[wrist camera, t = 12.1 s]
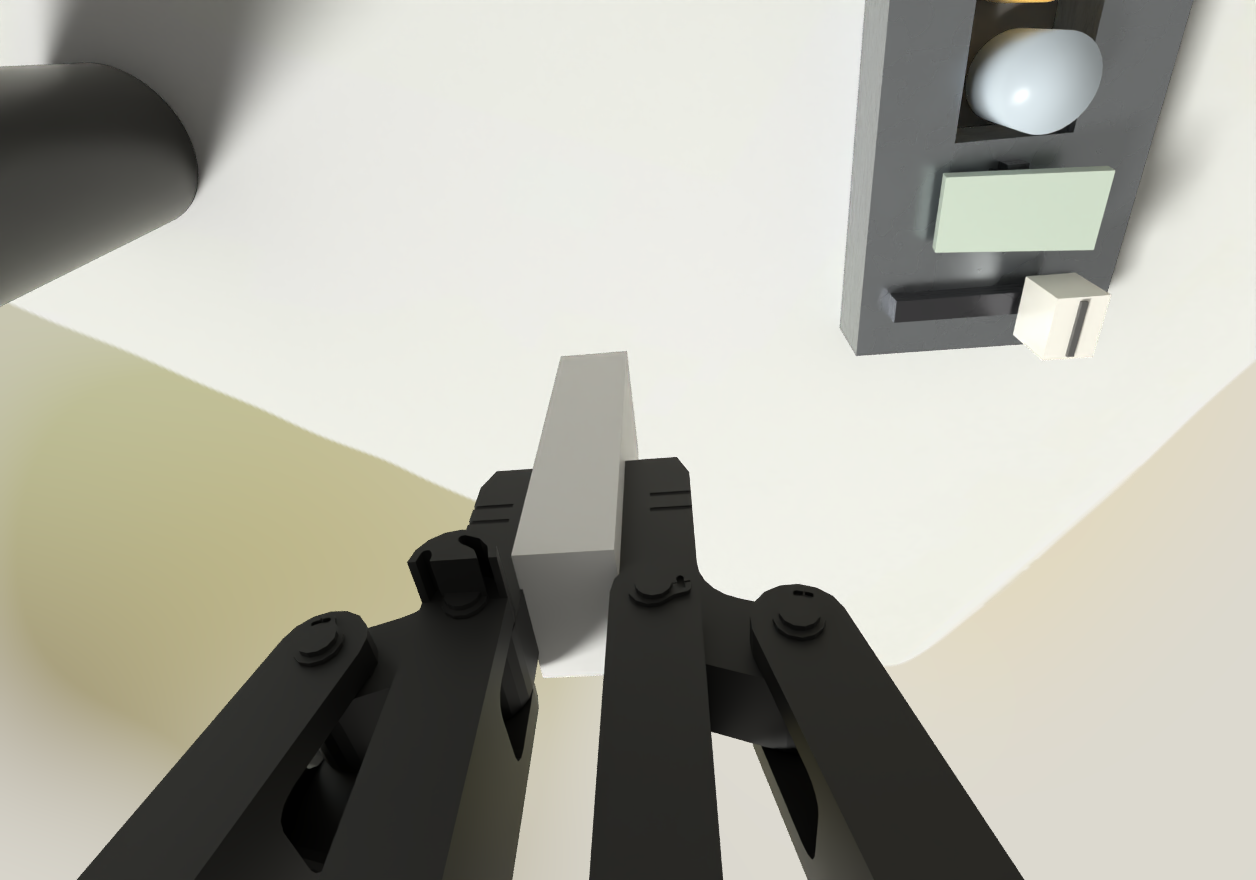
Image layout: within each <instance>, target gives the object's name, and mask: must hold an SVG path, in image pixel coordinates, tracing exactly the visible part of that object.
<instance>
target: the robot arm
mask: <svg viewBox="0 0 1256 880" xmlns="http://www.w3.org/2000/svg"><path fill="white" fill-rule="evenodd" d="M469 522H470V524H469V525H468V526H467V529H466V530H458V531H453V532H447V533H444V534H442V535H440V536H437V537H435V538H433V539H430V540H428V541H427V542H426V543H425V544H423V545H422V546H421V547H419V548H418V549H417V550H415V552H414V553H413V555H412V556H411V558H410V559H409V560H408V562H407V563H408V566H409V569H410V571H411V574H412V577H413V579H414V582H415V585H416V587H417V590H418V593H419V595H420V598H421V601H422V605H421V608H420V610H418V611H417V612H415V613H413V614H410V615H408V616H405V617H402V618H400V619H396V620H393V621H390V622H387V623H383V624H380V625H377V626H373V627H370V628H368V627H367V625H366V624H365V623H364V621H363V620H362V618H361V617H360V616H359V615H356V614H353V613H351V612H348V611H338V612H337V611H336V612H328V613H325V614H322V615H318V616H315V617H313V618H311V619H309V620H307V621H306V622H304V623H303V624H301V625H298V626H297V627H296V628H294V629H293V630H292V631H291V632H290V633H289V634H288V635H287V636H286V637H285V638H283V639H282V641H281V642H280V643H279V644H278V645H277V647H276V648H275V649H274V650H273V651H272V652H271V653H270V655H269V656H268V657H267V658H266V659H265V661H264V662H263V663H262V664H261V665H260V667H258V669H257V670H256V671H255V672H254V673H253V675H252V676H251V677H250V678H249V679H248V680H247V682H246V683H245V684H244V685H243V686H242V687H241V688H240V690H239V691H238V692H237V693H236V694H235V695H234V697H233V698H232V699H231V700H230V701H229V702H228V704H227V705H226V706H225V707H224V709H222V711H221V712H220V713H219V714H218V715H217V717H216V718H215V719H214V720H213V721H212V722H211V724H210V725H209V726H208V727H207V728H206V729H205V731H204V732H203V733H202V734H201V735H200V736H199V738H198V739H197V740H196V741H195V742H194V743H193V745H192V746H191V747H190V748H189V749H188V750H187V752H186V753H185V754H184V755H183V756H182V757H181V759H180V760H179V761H178V762H177V763H176V764H175V766H174V767H173V768H172V769H171V770H170V772H169V773H168V774H167V775H166V776H165V777H164V778H163V780H162V781H161V782H160V783H159V784H158V785H157V787H156V788H155V789H154V790H153V791H152V792H151V794H150V795H149V796H148V797H147V798H146V799H145V801H144V802H143V803H142V804H141V805H140V807H139V808H138V809H137V810H136V811H135V812H134V814H133V815H132V816H131V817H130V818H129V819H128V821H127V822H126V823H125V824H124V825H123V827H121V829H120V830H119V831H118V832H117V833H116V835H115V836H114V837H113V838H112V839H111V840H110V842H109V843H108V844H107V845H106V846H105V847H104V849H103V850H102V851H101V852H100V853H99V855H98V856H97V857H96V858H95V859H94V860H93V861H92V863H91V864H90V865H89V866H88V867H87V868H86V870H85V871H84V872H83V873H82V874H81V875H80V877H79V878H78V879H77V880H512V877H513V871H514V864H515V858H516V852H517V845H518V839H519V832H520V825H521V819H522V812H523V806H524V799H525V793H526V787H527V780H528V774H529V767H530V761H531V754H532V748H533V741H534V735H535V728H536V722H537V715H538V709H539V708H538V695H537V691H536V688H535V684H534V679H535V674H536V667H537V662H538V660H539V664H540V668H541V671H542V675H543V678H554V677H575V676H595V675H596V676H598V675H604V679H603V680H604V681H603V694H602V708H601V722H600V736H599V750H598V764H597V777H596V791H595V805H594V820H593V833H592V847H591V861H590V877H589V880H723V873H722V862H721V850H720V836H719V824H718V813H717V800H716V787H715V775H714V763H713V750H712V738H711V732H714V733H718V734H722V735H725V736H729V737H732V738H736V739H739V740H743V741H746V742H750V743H753V746H754V749H755V751H756V754H757V756H758V759H759V761H760V763H761V766H762V769H763V771H764V774H765V776H766V778H767V781H768V783H769V786H770V788H771V791H772V793H773V796H774V798H775V801H776V803H777V805H778V808H779V810H780V813H781V815H782V818H783V820H784V823H785V825H786V828H787V830H788V832H789V835H790V837H791V840H792V842H793V845H794V847H795V850H796V852H797V854H798V857H799V859H800V862H801V864H802V866H803V869H804V872H805V874H806V876H807V879H808V880H1024V879H1023V877H1022V876H1021V874H1020V873H1019V871H1018V869H1017V868H1016V866H1015V865H1014V863H1013V862H1012V860H1011V859H1010V857H1009V856H1008V854H1007V853H1006V852H1005V850H1004V848H1003V847H1002V845H1001V844H1000V842H999V841H998V839H997V838H996V836H995V835H994V833H993V832H992V830H991V829H990V827H989V826H988V824H987V823H986V821H985V820H984V818H983V817H982V815H981V814H980V812H979V811H978V809H977V807H976V806H975V804H974V803H973V801H972V800H971V798H970V797H969V795H968V794H967V792H966V791H965V789H964V788H963V786H962V785H961V783H960V782H959V780H958V779H957V777H956V776H955V774H954V773H953V771H952V770H951V768H950V767H949V765H948V764H947V762H946V761H945V759H944V758H943V756H942V755H941V753H940V752H939V750H938V749H937V747H936V746H935V744H934V742H933V741H932V739H931V738H930V737H929V735H928V733H927V732H926V730H925V729H924V727H923V726H922V725H921V723H920V721H919V720H918V718H917V717H916V715H915V714H914V712H913V711H912V709H911V708H910V706H909V705H908V703H907V702H906V700H905V699H904V697H903V696H902V694H901V693H900V691H899V690H898V688H897V687H896V685H895V684H894V682H893V681H892V679H891V677H890V676H889V674H888V673H887V671H886V670H885V668H884V667H883V665H882V664H881V662H880V661H879V659H878V658H877V656H876V655H875V653H874V652H873V650H872V649H871V647H870V646H869V644H868V643H867V641H866V640H865V638H864V637H863V635H862V634H861V632H860V631H859V629H858V628H857V626H856V625H855V623H854V622H853V620H852V619H851V617H850V616H849V614H848V612H847V611H846V609H845V608H844V607H843V606H842V605H841V604H840V603H839V602H838V601H837V600H836V599H835V598H834V597H833V596H832V595H830V594H828V593H826V592H824V591H822V590H820V589H818V588H816V587H811V586H806V585H800V584H792V585H780V586H778V587H775V588H773V589H770V590H768V591H766V592H764V593H763V594H762V595H761V596H760V597H759V598H758V599H757V600H756V601H755V602H754V601H749V600H744V599H740V598H736V597H732V596H729V595H726V594H723V593H722V592H720V591H718V590H716V589H714V588H713V587H712V586H710V585H709V584H708V583H707V582H706V581H705V580H704V579H703V577H702V576H701V574H700V572H699V570H698V566H697V560H696V549H695V537H694V525H693V513H692V501H691V489H690V477H689V471H688V470H687V469H686V468H685V467H684V465H683V464H682V463H681V462H680V460H679V459H678V458H677V457H671V458H657V459H642V460H638V445H637V436H636V427H635V419H634V410H633V401H632V392H631V384H630V375H629V366H628V357H627V351H622V352H610V353H598V354H586V355H574V356H562V357H561V358H560V362H559V366H558V370H557V374H556V378H555V382H554V386H553V390H552V394H551V398H550V402H549V406H548V410H547V414H546V418H545V422H544V426H543V430H542V434H541V438H540V442H539V446H538V450H537V454H536V458H535V462H534V466H533V469H525V470H510V471H497V472H496V473H495V474H494V475H493V476H492V477H491V478H490V479H489V480H488V481H487V482H486V483H485V484H484V485H483V486H482V487H481V489H480V492H479V495H478V498H477V500H476V503H475V510H473V512H472V515H471V518H470V521H469Z"/></svg>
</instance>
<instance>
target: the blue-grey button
mask: <svg viewBox="0 0 1256 880" xmlns="http://www.w3.org/2000/svg"><path fill="white" fill-rule="evenodd" d="M1102 71H1103V62H1102V56H1101V52H1100V50H1099V47H1098V46H1097V44H1096V42H1095V41H1094V40H1093V39H1092V38H1091V37H1089V36H1088V35H1086V34H1084V33H1082V32H1079V31H1075V30H1062V29H1039V28H1015V29H1010V30H1007V31H1005V32H1002V33H1000V34H998V35H997V36H995V37H994V38H992V39H991V40H990V41H988V42H987V43H986V44H985V45H984V46H983V47H982V48H981V50H980V51H979V52H978V53H977V55H976V56H975V58H974V60H973V61H972V63H971V66H970V68H969V71H968V74H967V78H966V85H965V90H966V98H967V101H968V104H969V106H970V108H971V109H972V110H973V112H974V113H975V114H976V115H977V116H979V117H980V118H982V119H984V120H987V121H990V122H993V123H996V124H999V125H1003V126H1006V127H1009V128H1012V129H1015V130H1018V131H1021V132H1024V133H1028V134H1033V135H1043V134H1048V133H1052V132H1055V131H1057V130H1060V129H1062V128H1064V127H1065V126H1067V125H1069V124H1070V123H1072V122H1073V121H1074V120H1075V119H1077V118H1078V117H1079V116H1080V115H1081V114H1082V113H1083V112H1084V111H1085V109H1086V108H1087V107H1088V106H1089V104H1090V103H1091V101H1092V100H1093V98H1094V96H1095V94H1096V92H1097V90H1098V88H1099V85H1100V81H1101V77H1102Z"/></svg>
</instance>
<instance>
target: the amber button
mask: <svg viewBox="0 0 1256 880" xmlns="http://www.w3.org/2000/svg"><path fill="white" fill-rule="evenodd" d="M986 1H989V2H992V3H1028V2H1049V1H1054V0H986Z"/></svg>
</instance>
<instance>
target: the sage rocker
mask: <svg viewBox="0 0 1256 880" xmlns="http://www.w3.org/2000/svg"><path fill="white" fill-rule="evenodd" d="M1114 174H1115V170H1114V169H1113V168H1111V167H1109V166H1091V167H1068V168H1045V169H1023V170H1000V171H978V172H955V173H943V178H942V185H941V192H940V198H939V205H938V212H937V219H936V226H935V233H934V240H933V246H932V247H933V249H934V252H935V253H949V252H1007V251H1065V250H1094V247H1095V244H1096V240H1097V236H1098V233H1099V229H1100V225H1101V222H1102V218H1103V214H1104V211H1105V207H1106V203H1107V200H1108V196H1109V192H1110V189H1111V185H1112V181H1113V178H1114Z"/></svg>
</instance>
